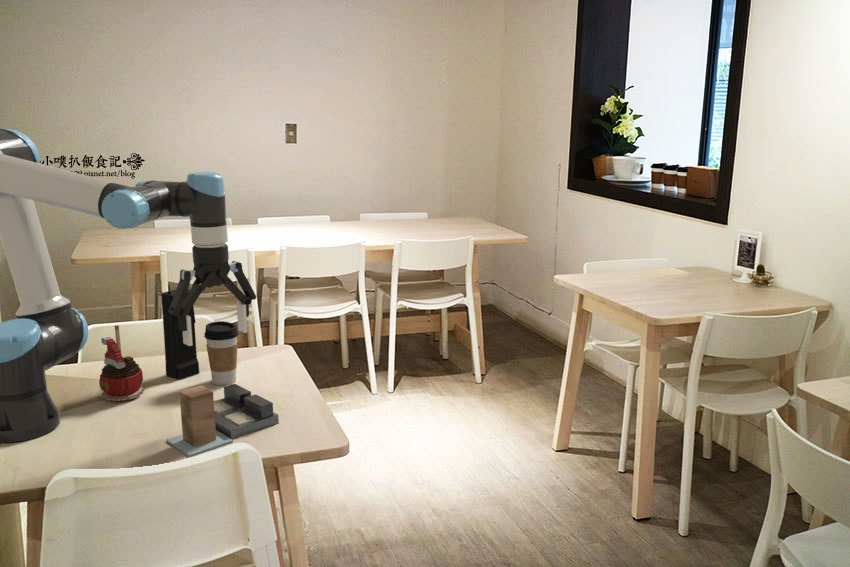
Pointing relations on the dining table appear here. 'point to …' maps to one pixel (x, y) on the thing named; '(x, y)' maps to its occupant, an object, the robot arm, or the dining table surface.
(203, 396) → the walnut block
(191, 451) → the mat
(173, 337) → the portable radio
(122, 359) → the cake
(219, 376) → the coffee cup
